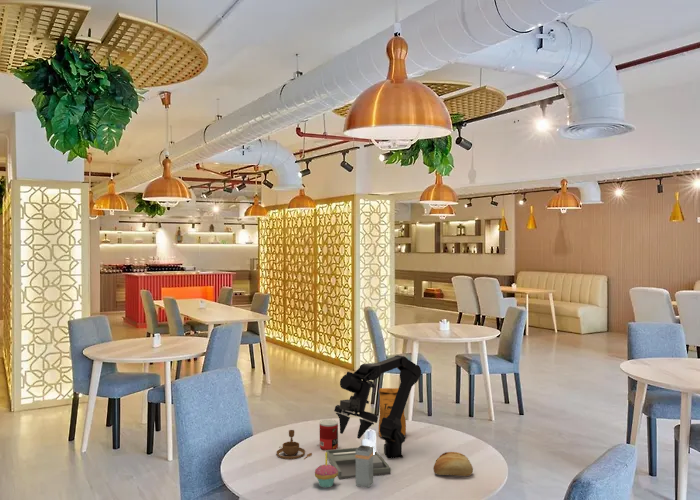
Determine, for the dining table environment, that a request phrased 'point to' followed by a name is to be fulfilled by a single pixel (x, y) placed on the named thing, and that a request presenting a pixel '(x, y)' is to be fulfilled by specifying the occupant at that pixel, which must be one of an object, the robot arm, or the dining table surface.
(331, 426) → the canned food
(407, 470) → the dining table surface
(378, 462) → the case
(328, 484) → the cupcake
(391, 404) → the coffee package
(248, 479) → the dining table surface
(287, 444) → the place setting
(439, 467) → the bread roll
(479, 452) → the dining table surface
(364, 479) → the block
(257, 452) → the dining table surface
